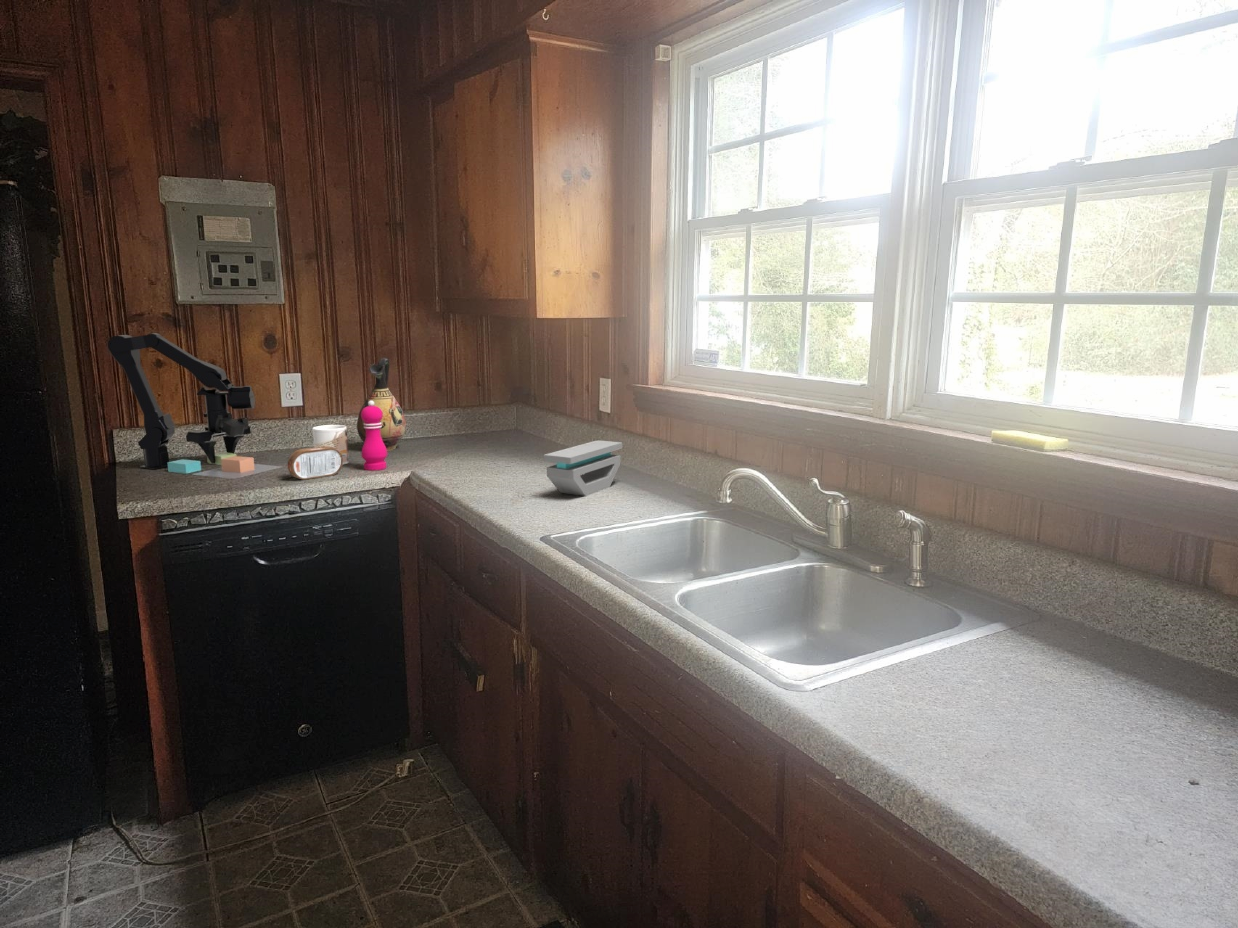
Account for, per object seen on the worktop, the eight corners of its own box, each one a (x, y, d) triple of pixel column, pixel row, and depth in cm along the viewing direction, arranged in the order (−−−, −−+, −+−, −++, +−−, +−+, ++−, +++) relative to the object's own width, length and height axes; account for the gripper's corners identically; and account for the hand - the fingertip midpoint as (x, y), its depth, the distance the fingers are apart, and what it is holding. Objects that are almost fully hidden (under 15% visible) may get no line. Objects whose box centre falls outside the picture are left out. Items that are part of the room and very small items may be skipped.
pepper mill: (380, 471, 232) (376, 402, 228) (357, 470, 234) (353, 401, 230) (392, 466, 239) (388, 399, 235) (370, 465, 241) (365, 398, 237)
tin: (340, 472, 231) (338, 443, 229) (345, 474, 229) (343, 445, 227) (288, 480, 220) (285, 450, 219) (293, 482, 218) (290, 451, 217)
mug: (305, 464, 242) (302, 428, 240) (333, 457, 253) (331, 423, 251) (333, 467, 238) (331, 430, 236) (360, 460, 249) (358, 424, 247)
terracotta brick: (222, 471, 230) (220, 459, 230) (236, 467, 235) (235, 456, 234) (240, 472, 228) (239, 460, 227) (254, 469, 232) (253, 457, 232)
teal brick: (168, 474, 230) (167, 462, 229) (183, 471, 235) (182, 459, 234) (186, 476, 228) (185, 464, 227) (201, 472, 232) (200, 461, 231)
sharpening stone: (597, 479, 221) (597, 440, 218) (622, 482, 217) (622, 442, 215) (544, 498, 199) (543, 454, 197) (571, 501, 195) (570, 457, 193)
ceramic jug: (399, 453, 260) (394, 360, 255) (352, 453, 261) (345, 360, 255) (413, 444, 277) (408, 356, 271) (368, 444, 277) (363, 357, 272)
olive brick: (207, 465, 243) (206, 454, 242) (223, 463, 247) (222, 451, 246) (221, 468, 239) (220, 456, 238) (237, 465, 243) (236, 453, 243)
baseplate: (191, 476, 226) (191, 474, 226) (242, 464, 242) (242, 462, 242) (234, 480, 220) (233, 478, 220) (283, 468, 237) (283, 466, 236)
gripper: (210, 414, 228) (216, 468, 231) (262, 407, 245) (266, 457, 248) (182, 413, 232) (187, 466, 235) (234, 405, 249) (239, 455, 252)
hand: (222, 461), depth 243 cm, fingers open, 6 cm apart
